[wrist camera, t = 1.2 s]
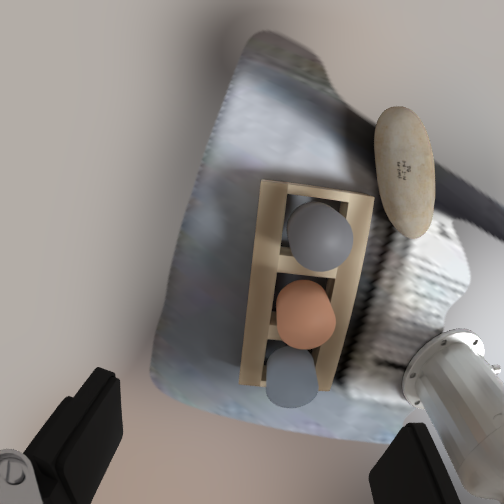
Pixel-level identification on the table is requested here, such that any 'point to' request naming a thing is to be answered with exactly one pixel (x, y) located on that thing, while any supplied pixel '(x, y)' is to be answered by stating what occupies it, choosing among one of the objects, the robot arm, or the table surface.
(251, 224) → the table surface
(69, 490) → the robot arm
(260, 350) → the birch board
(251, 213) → the table surface
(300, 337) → the terracotta button
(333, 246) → the charcoal button
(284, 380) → the slate button
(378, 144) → the stone
